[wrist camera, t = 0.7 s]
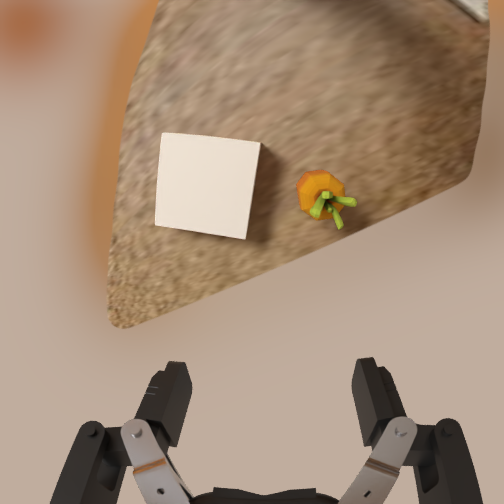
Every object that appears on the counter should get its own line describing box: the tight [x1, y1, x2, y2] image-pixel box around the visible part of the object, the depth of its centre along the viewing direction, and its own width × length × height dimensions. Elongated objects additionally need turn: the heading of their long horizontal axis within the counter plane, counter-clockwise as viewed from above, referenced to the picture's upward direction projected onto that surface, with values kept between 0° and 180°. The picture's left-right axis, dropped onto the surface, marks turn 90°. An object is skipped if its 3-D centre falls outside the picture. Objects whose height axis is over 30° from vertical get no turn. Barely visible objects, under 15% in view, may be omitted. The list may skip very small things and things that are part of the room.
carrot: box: [296, 170, 357, 230], centre depth 29 cm, size 5×5×15 cm
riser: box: [155, 133, 261, 239], centre depth 35 cm, size 12×12×4 cm
